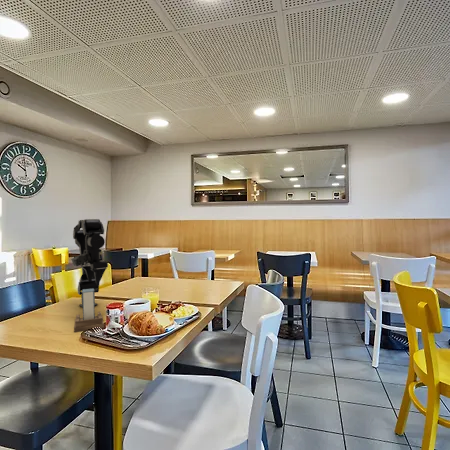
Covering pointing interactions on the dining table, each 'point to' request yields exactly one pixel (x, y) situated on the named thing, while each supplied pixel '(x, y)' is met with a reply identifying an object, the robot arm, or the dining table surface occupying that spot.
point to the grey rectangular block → (88, 304)
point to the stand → (88, 323)
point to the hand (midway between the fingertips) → (93, 282)
